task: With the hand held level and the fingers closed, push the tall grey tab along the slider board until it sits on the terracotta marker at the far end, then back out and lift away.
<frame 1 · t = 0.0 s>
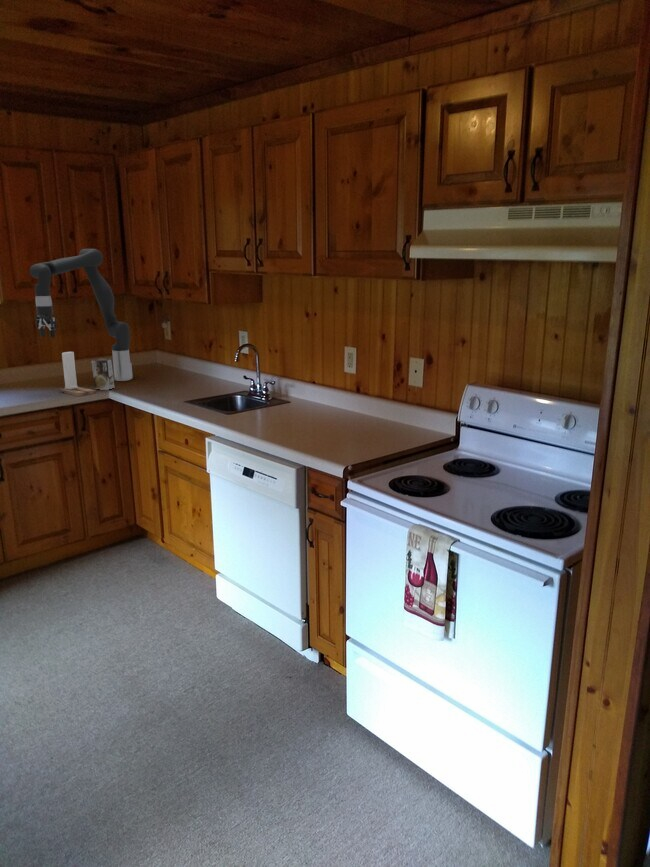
hand: (47, 337, 337), 29 cm above the counter, tool pointing down, fingers open, 8 cm apart
coffee box: (104, 389, 356), on the counter
slider tab: (69, 370, 346), point 11 cm above the counter, slide at -5.0 cm
slider board: (77, 392, 347), on the counter
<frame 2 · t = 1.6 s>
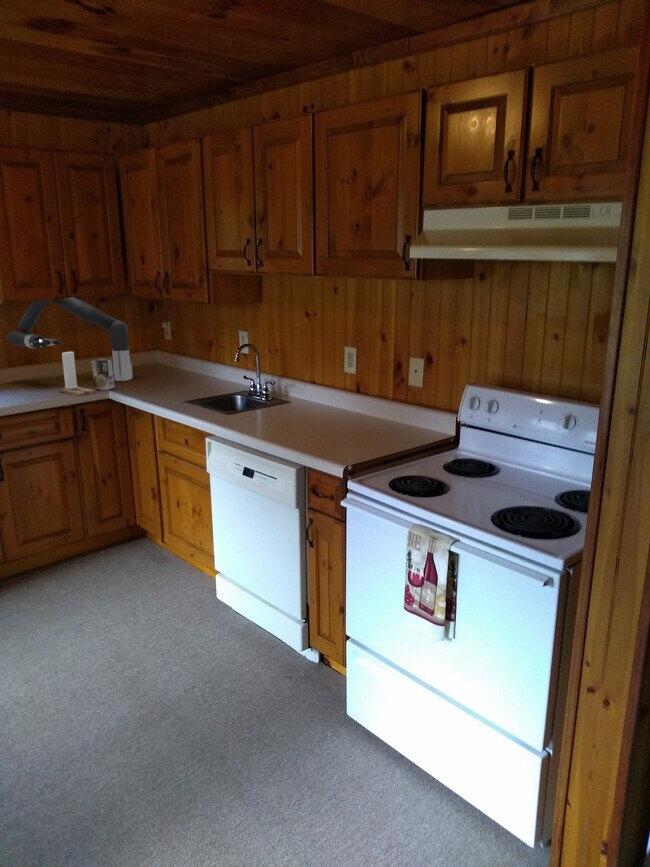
hand: (53, 344, 349), 24 cm above the counter, tool horizontal, fingers open, 7 cm apart
nothing on the counter moved.
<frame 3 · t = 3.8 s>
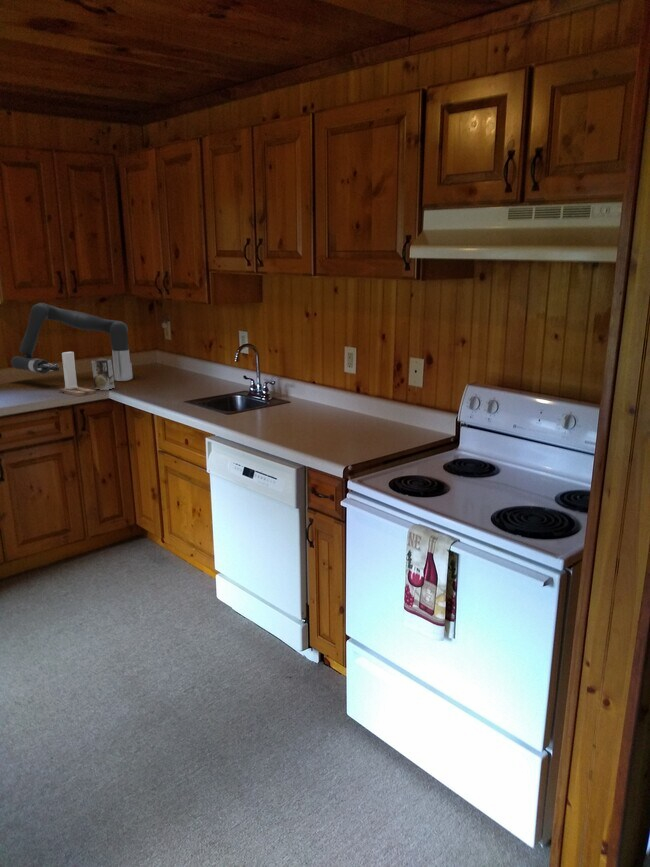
hand: (58, 369, 352), 11 cm above the counter, tool horizontal, fingers closed
nothing on the counter moved.
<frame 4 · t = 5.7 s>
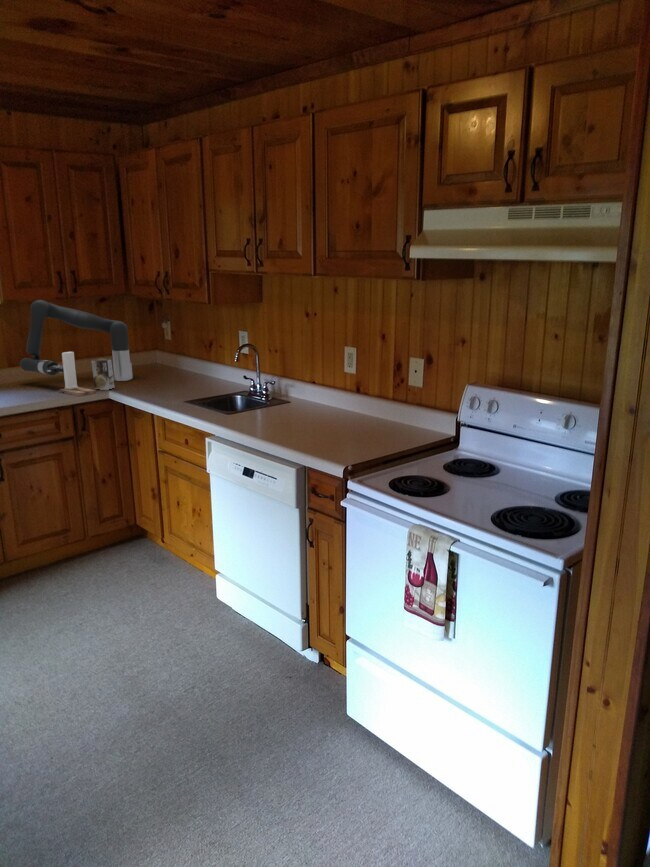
hand: (67, 370, 347), 11 cm above the counter, tool horizontal, fingers closed
slider tab: (69, 370, 346), point 11 cm above the counter, slide at -5.0 cm, touching gripper
everything else where it was.
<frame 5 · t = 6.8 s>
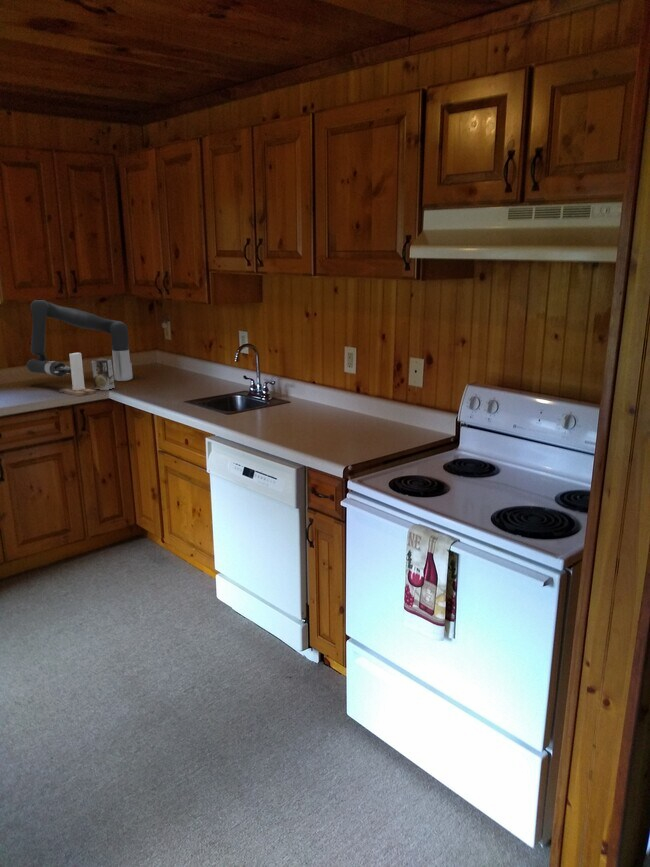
hand: (75, 371, 344), 11 cm above the counter, tool horizontal, fingers closed
slider tab: (77, 371, 343), point 11 cm above the counter, slide at 1.3 cm, touching gripper
everything else where it was.
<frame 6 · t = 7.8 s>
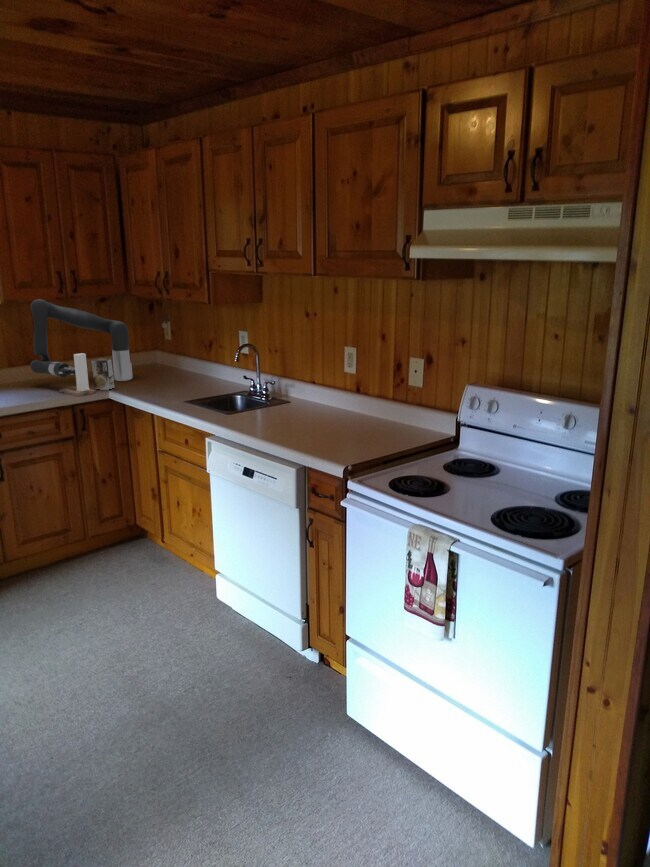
hand: (79, 372, 342), 11 cm above the counter, tool horizontal, fingers closed
slider tab: (81, 372, 341), point 11 cm above the counter, slide at 4.9 cm, touching gripper
everything else where it was.
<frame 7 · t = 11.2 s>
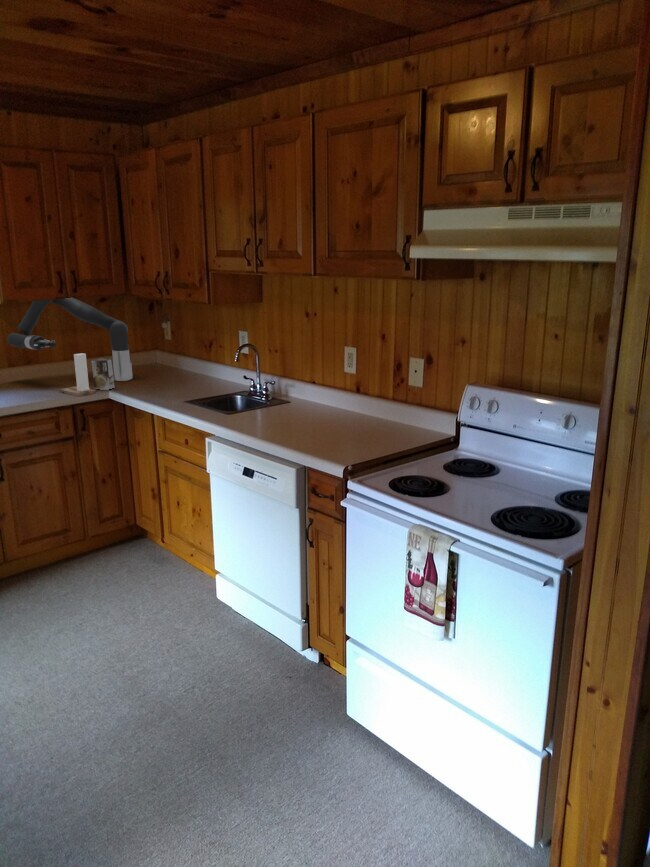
hand: (54, 344, 349), 24 cm above the counter, tool horizontal, fingers closed
slider tab: (81, 372, 341), point 11 cm above the counter, slide at 5.0 cm
everything else where it was.
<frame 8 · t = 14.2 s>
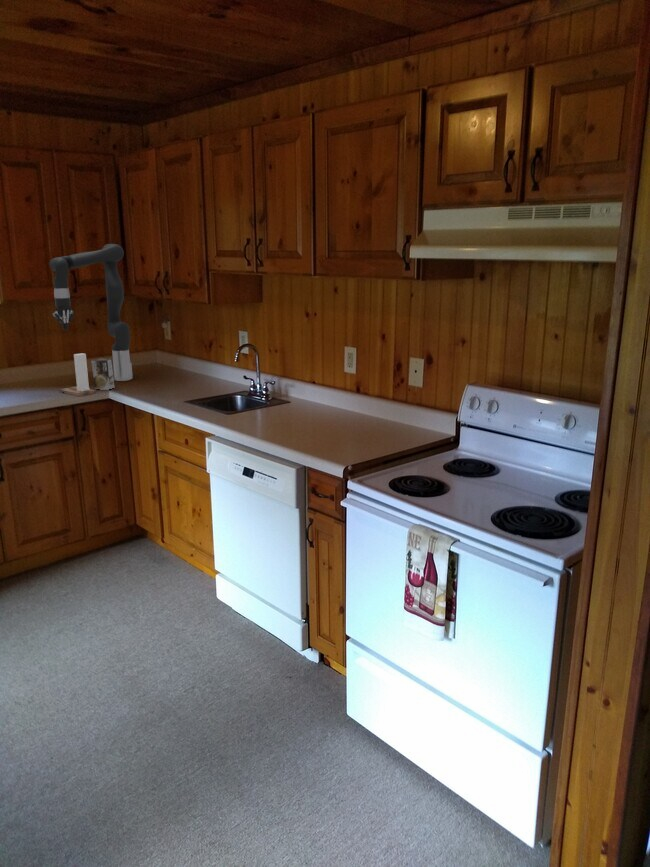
hand: (65, 330, 352), 31 cm above the counter, tool pointing down, fingers closed
nothing on the counter moved.
at the end: slider tab slide at 5.0 cm; coffee box tilted 0° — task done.
